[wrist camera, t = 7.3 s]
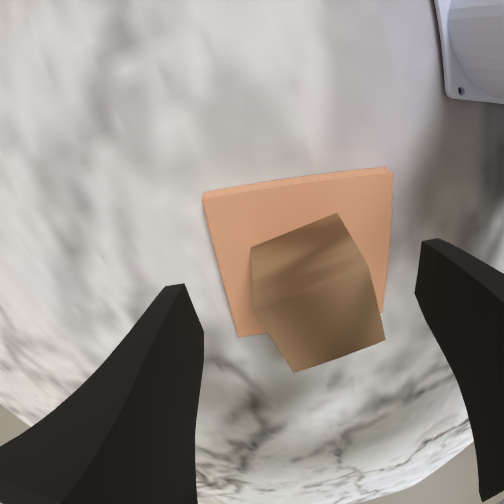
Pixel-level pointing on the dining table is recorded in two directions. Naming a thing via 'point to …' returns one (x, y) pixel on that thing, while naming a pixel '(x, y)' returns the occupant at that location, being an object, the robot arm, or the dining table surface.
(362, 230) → the terracotta tile
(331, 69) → the dining table surface
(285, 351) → the walnut cube
